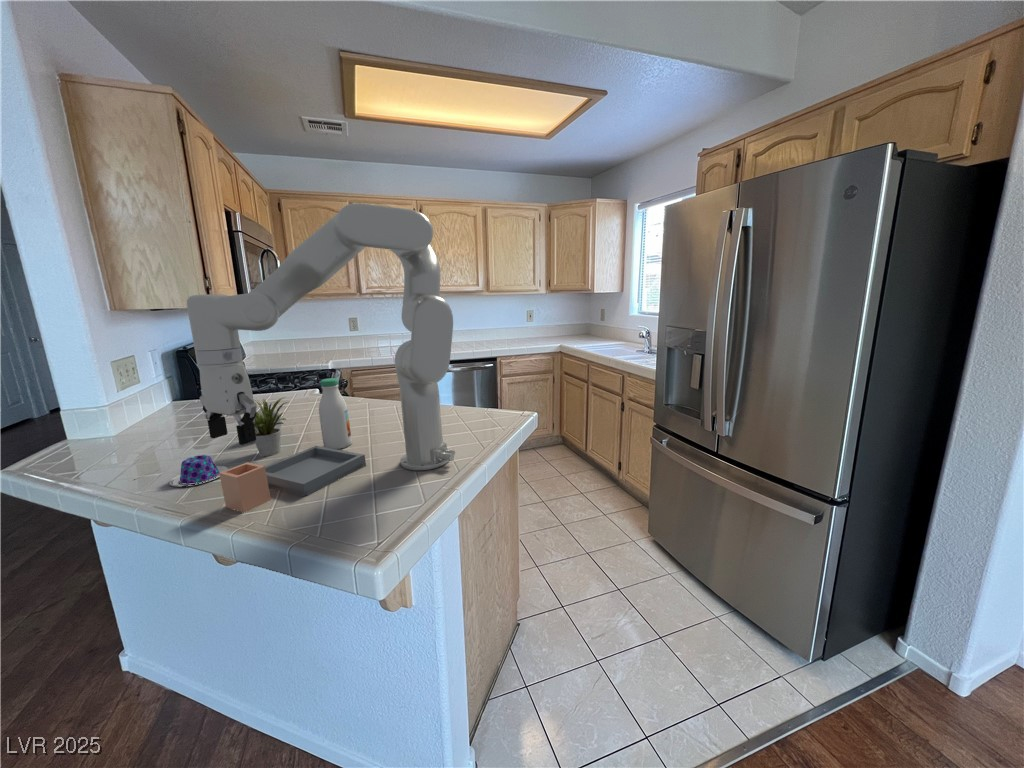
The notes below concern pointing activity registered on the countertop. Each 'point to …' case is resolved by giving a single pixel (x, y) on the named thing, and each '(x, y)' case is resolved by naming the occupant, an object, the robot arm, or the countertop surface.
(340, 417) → the milk bottle
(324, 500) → the countertop surface
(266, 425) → the house plant
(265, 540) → the countertop surface
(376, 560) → the countertop surface
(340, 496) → the countertop surface
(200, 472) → the purple dotted hat
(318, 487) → the tray
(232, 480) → the open square box
